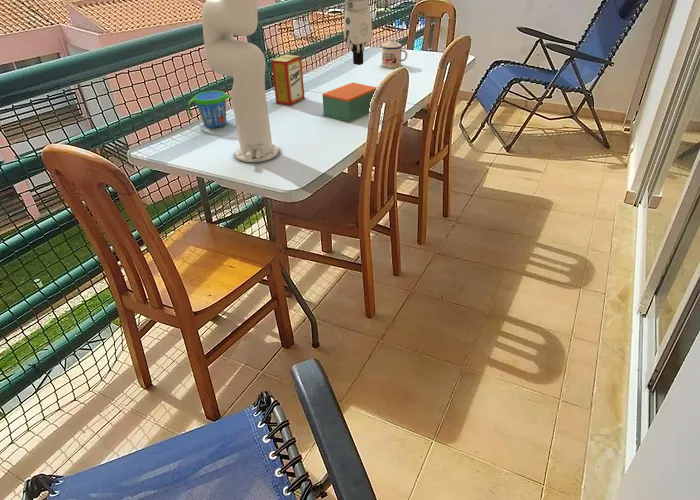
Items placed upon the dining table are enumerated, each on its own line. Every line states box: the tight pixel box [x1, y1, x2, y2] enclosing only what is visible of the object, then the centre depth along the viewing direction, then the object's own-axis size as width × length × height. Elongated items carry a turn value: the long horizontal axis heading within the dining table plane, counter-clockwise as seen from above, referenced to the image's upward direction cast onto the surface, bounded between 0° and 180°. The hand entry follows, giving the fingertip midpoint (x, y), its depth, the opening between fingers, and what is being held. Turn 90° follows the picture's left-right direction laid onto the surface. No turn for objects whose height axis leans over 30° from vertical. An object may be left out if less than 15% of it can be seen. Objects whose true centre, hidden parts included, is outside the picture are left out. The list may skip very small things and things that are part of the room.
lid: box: [322, 82, 378, 102], centre depth 172 cm, size 16×12×1 cm
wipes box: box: [322, 91, 375, 123], centre depth 174 cm, size 16×12×7 cm
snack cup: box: [187, 90, 232, 129], centre depth 167 cm, size 16×10×10 cm
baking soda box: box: [270, 54, 305, 106], centre depth 184 cm, size 10×6×16 cm
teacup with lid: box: [381, 37, 408, 69], centre depth 222 cm, size 12×9×12 cm
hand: (358, 63), depth 170 cm, fingers closed
